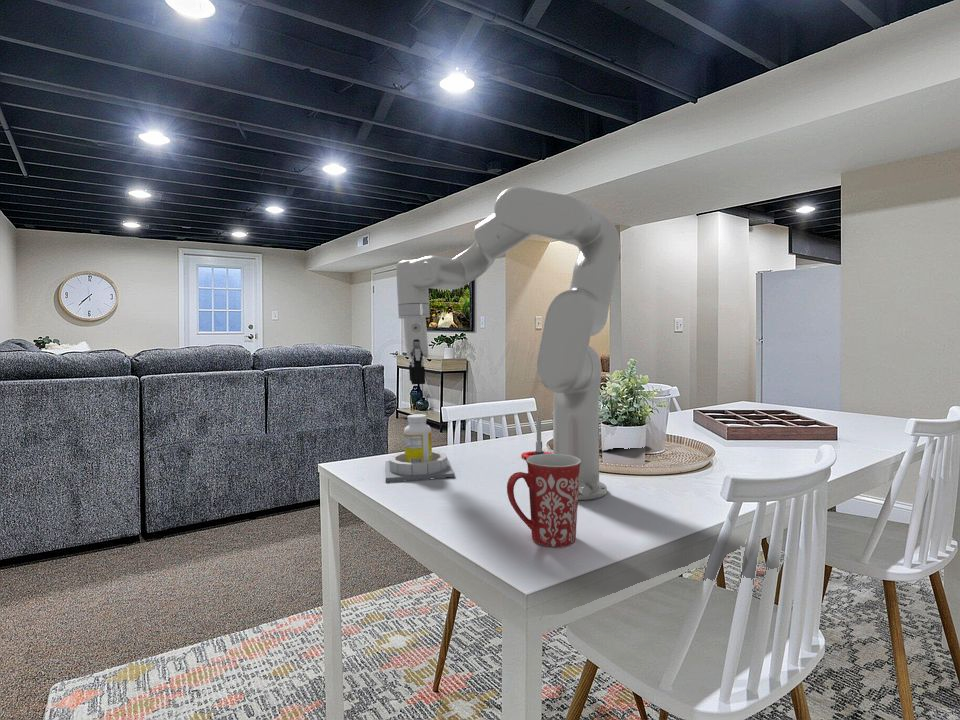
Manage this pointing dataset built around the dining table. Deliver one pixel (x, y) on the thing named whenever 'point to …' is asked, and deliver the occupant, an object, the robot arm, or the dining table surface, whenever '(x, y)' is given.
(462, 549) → the dining table surface
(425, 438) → the supplement bottle
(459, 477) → the dining table surface
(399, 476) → the ring block
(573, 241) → the robot arm
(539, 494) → the mug
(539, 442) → the tow hook
